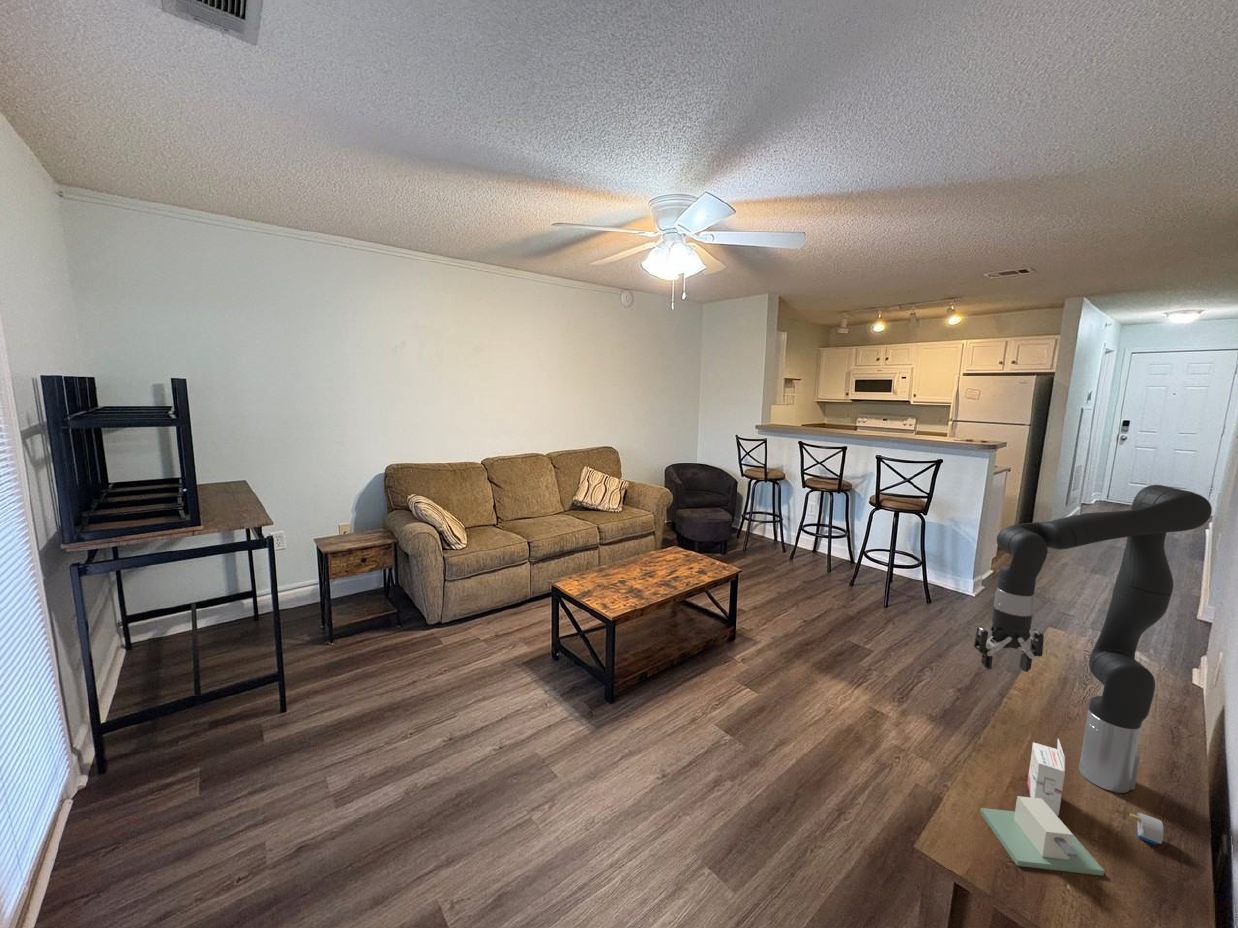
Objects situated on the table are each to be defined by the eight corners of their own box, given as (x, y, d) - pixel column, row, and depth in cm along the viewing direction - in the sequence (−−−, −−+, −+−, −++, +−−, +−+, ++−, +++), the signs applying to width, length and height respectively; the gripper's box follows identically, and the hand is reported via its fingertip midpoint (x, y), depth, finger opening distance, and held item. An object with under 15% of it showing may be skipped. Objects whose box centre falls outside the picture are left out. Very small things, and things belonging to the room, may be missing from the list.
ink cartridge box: (1025, 782, 123) (1033, 729, 120) (1051, 791, 120) (1060, 737, 118) (1031, 807, 116) (1040, 751, 113) (1059, 817, 113) (1068, 759, 111)
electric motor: (1124, 820, 112) (1128, 800, 111) (1155, 831, 109) (1159, 812, 108) (1129, 841, 107) (1133, 821, 106) (1161, 854, 104) (1166, 833, 103)
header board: (1055, 820, 112) (1058, 801, 111) (1103, 875, 99) (1107, 855, 99) (979, 812, 114) (982, 794, 113) (1016, 865, 101) (1019, 845, 101)
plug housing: (1038, 822, 110) (1041, 798, 109) (1082, 876, 98) (1086, 850, 97) (1013, 819, 111) (1017, 795, 110) (1054, 872, 99) (1058, 847, 98)
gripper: (1034, 602, 123) (1025, 662, 126) (972, 599, 125) (966, 658, 128) (1056, 616, 116) (1047, 679, 118) (991, 613, 118) (983, 675, 120)
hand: (1005, 668), depth 123 cm, fingers open, 8 cm apart
